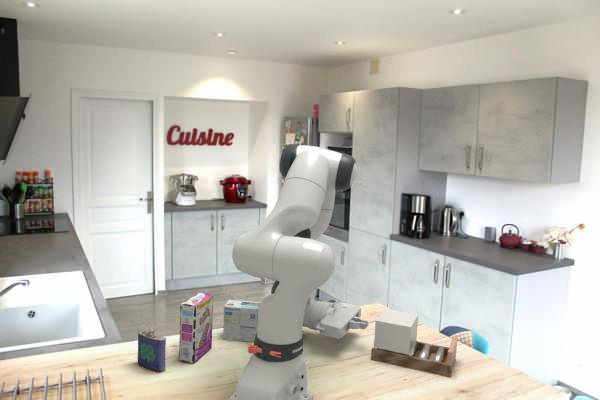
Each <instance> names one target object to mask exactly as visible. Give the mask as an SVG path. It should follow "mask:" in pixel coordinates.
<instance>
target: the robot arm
mask: <svg viewBox="0 0 600 400" xmlns="http://www.w3.org/2000/svg"><path fill="white" fill-rule="evenodd" d="M278 166H279V173H280V174H281V176H282V177H283V178H285V179H284V182H283V185H282V187H281V190H280V193H279V195H278V198H277V201H276V202H275V204H274V207H273V209H272V210H271V212H270V213H269V214H268V216H267V217H266V218H264V219H263V221H261V223H259V224H258V225H257V226H255V227H254V228H252V229H251V230H249V231H247V232H245V233H242V234H241V235H240V236H238V238H237V239H236V240H235V242H234V244H233V246H232V251H231V252H232V253H231V258H232V261H233V262H232V263H233V265H234V266H235V268H236V270H237V271H239V272H241V273H244V274H245V275H249V276H250V277H253V278H258V279H265V280H270V281H271V280H272V281H274V283H273V284H272V286H271V292H270V294H269V295H267V296H265V297H264V298H263V299H262V300H261V301H259V302H260V304H259V307H258V318H257V333H256V335H255V339H254V342H252V343H249V345H248V347H247V352H248V353H249V354H251V356H250V357H249V359H248V361H247V363H246V364H245V367H244V369H243V371H242V373H241V375H240V376H239V379H238V381H237V384H236V389H235V390H234V392H233V394H232V395H231V396H230V398H229V399H228V400H314V393H313V392H312V391H311V390H310V389H309V363H308V362H307V360H306V359H305V356H304V354H303V352H304V350H305V349H304V348H305V347H304V346H305V338H304V337H305V336H304V334H303V327H304V328H308V329H310V330H313V331H316V332H317V331H318V332H319V334H321V335H323V336H326V337H330V338H334V339H339V340H340V339H343V338H344V336H345V335H346V334H347V333H348V332H349V331H350V330H359V329H360V330H366V329H367V328H368V327H369V320H365V319H363V318H361V316H362V308H361V307H360V306H358V305H355V304H351V303H347V302H341V301H340V302H339V300H337V299H330V300H325V301H319V300H316V296H317V292H318V288H320V287H321V286H323V285H325V284H326V283H327V282H328V281H330V279H331V278H332V276H333V274H334V272H335V268H336V257H335V254H334V252H333V249H332V248H331V246H330V245H329V244H327V243H324V242H321V241H318V238H320V237H321V236H322V235H323V234H324V233H325V232H326V230H327V229H328V227H329V225H330V222H331V219H332V216H333V212H334V208H335V200H336V199H335V198H336V193H340V192H344V191H345V192H346V191H347V190H348V189H350V188H351V187H352V185H353V184H354V182H355V181H356V178H357V175H358V173H357V172H358V166H357V162H356V160H355V158H354V156H352V155H350V154H347V153H346V152H345V153H344V152H343V153H341V152H338V151H336V150H335V151H334V150H331V149H327V148H323V147H320V146H313V145H306V144H305V145H303V144H300V143H289V144H288V145H286V146H284V148H283V150H282V151H281V153H280V156H279V161H278Z"/></svg>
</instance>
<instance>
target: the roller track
mask: <svg viewBox="0 0 600 400" xmlns="http://www.w3.org/2000/svg"><path fill="white" fill-rule="evenodd" d="M458 338H459V337H458V336H456V335H453V336H452V339H451V341H450V345H449V347H447V346H443V345H437V344H434V343H433V344H432V343H427V342H424V341H417V340H416V342H415V344H414V346H413V348H412V350H411V352H410V354H409V355H408V354H403V353H398V352H393V351H389V350H384V349H379V348H375V347H372V348H371V353H370V360H371V361H376V362H379V363H384V364H389V365H394V366H398V367H402V368H403V367H404V368H407V369H411V370H416V371H420V372H425V373H430V374H433V375H438V376H443V377H447V378H451V377H452V374H453V369H454V366H455V363H456V360H457V359H456V358H457V347H458V346H457V345H458Z"/></svg>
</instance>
